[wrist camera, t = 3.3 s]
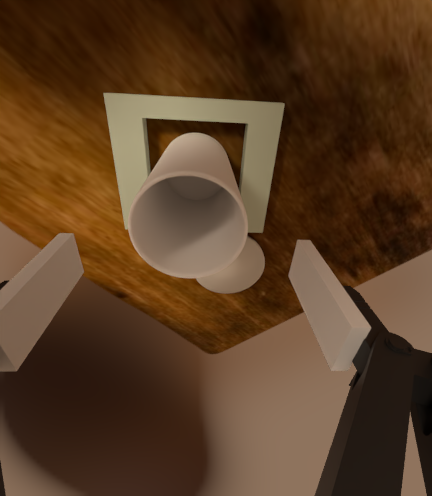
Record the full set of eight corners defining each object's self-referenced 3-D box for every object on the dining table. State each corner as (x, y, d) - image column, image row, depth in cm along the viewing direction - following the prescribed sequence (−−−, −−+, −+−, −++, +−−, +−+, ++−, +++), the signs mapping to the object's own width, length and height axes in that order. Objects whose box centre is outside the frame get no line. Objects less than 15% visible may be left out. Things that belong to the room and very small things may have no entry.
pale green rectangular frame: (129, 222, 34) (125, 229, 32) (109, 92, 26) (103, 92, 24) (259, 225, 35) (262, 232, 33) (279, 102, 27) (284, 103, 25)
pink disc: (191, 289, 41) (191, 293, 40) (191, 230, 35) (191, 233, 34) (258, 290, 42) (259, 293, 41) (269, 232, 36) (270, 235, 35)
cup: (239, 184, 32) (265, 254, 18) (182, 210, 34) (167, 292, 20) (211, 119, 28) (218, 147, 14) (148, 152, 29) (100, 205, 16)
